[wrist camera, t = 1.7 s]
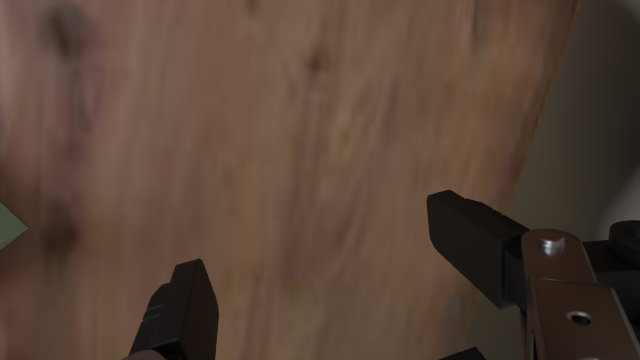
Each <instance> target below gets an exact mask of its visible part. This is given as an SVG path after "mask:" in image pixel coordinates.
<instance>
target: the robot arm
mask: <svg viewBox="0 0 640 360" xmlns="http://www.w3.org/2000/svg"><path fill="white" fill-rule="evenodd" d="M427 212H428V223H429V234H430V239H431V242H432V244H433V246H434V247H435V249H436V250H437V251H438V252H439V253H440V254H441V255H442V256H443V257H444V258H445V259H446V260H448V261H449V262H450V263H451V264H452V265H453V266H454V267H455V268H456V269H457V270H458V271H459V272H460V273H461V274H463V275H464V276H465V277H466V278H467V279H468V280H469V281H470V282H471V283H472V284H473V285H474V286H475V287H476V288H478V289H479V290H480V291H481V292H482V293H483V294H484V295H485V296H486V297H487V298H488V299H489V300H490V301H491V302H493V303H494V304H495V305H496V306H497V307H498V308H499V309H500V310H502V309H504V308H508V307H510V306H513V305H517V306H518V307H519V308H520V328H521V338H522V347H523V358H524V360H640V221H637V220H629V221H621V222H617V223H615V224H613V225H612V226H611V227H610V231H609V239H608V240H602V241H591V242H581V240H580V239H579V238H577V237H576V236H574V235H572V234H570V233H567V232H564V231H560V230H555V229H534V230H530V229H528V228H526V227H525V226H523V225H521V224H519V223H517V222H516V221H514V220H512V219H510V218H509V217H507V216H505V215H502V214H501V213H500V212H498V211H496V210H493V208H491V207H489V206H487V205H485V204H484V203H482V202H478V201H474V200H471V199H465V198H463V197H461V196H460V195H458V194H456V193H455V192H453V191H451V190H446V191H442V192H438V193H435V194H431V195H429V196H428V197H427ZM146 310H147V311H146V312H145V314H144V317H143V319H142V320H143V322H141V325H140V327H139V330H138V332H137V335H136V337H135V340H134V343H133V345H132V348H131V350H130V353H129V356H127V357H125V358H123V359H122V360H215V354H216V342H217V330H218V319H219V311H218V304H217V300H216V296H215V294H214V291H213V288H212V285H211V283H210V280H209V277H208V274H207V272H206V269H205V266H204V264H203V262H202V260H201V259H196V260H192V261H189V262H185V263H181V264H178V265H176V266H175V269H174V272H173V275H172V278H171V281H170V283H167V284H163V285H161V286H160V288H159V289H158V290H157V291H156V292H155V293H154V294H153V296H152V297H151V299H150V301H149V304H148V307H147V309H146ZM439 360H486V359H485V358H484V356H483V355H482V354H481V353H480V352H479V350H478V349H477V348H476V347H473V348H470V349H467V350H465V351H462V352H459V353H456V354H453V355H450V356H447V357H445V358H442V359H439Z"/></svg>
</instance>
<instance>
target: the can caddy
mask: <svg viewBox="0 0 640 360" xmlns="http://www.w3.org/2000/svg"><path fill="white" fill-rule="evenodd" d="M27 229H29V228H28V227H27V226H26V225H25V224H24V223H23V222H21V221H20V220H19V219H18V218H17V217H16V216H15V215H14V214H13V213H12V212H11V211H10V210H9V209H8V208H6V207H5V206H4V205H3V204H2V203H1V202H0V250H1V249H2V248H4V247H5V246H6V245H8V244H9V243H10V242H12V241H13V240H14V239H15V238H17V237H18V236H19V235H21V234H22V233H23V232H25V231H26V230H27Z"/></svg>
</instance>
